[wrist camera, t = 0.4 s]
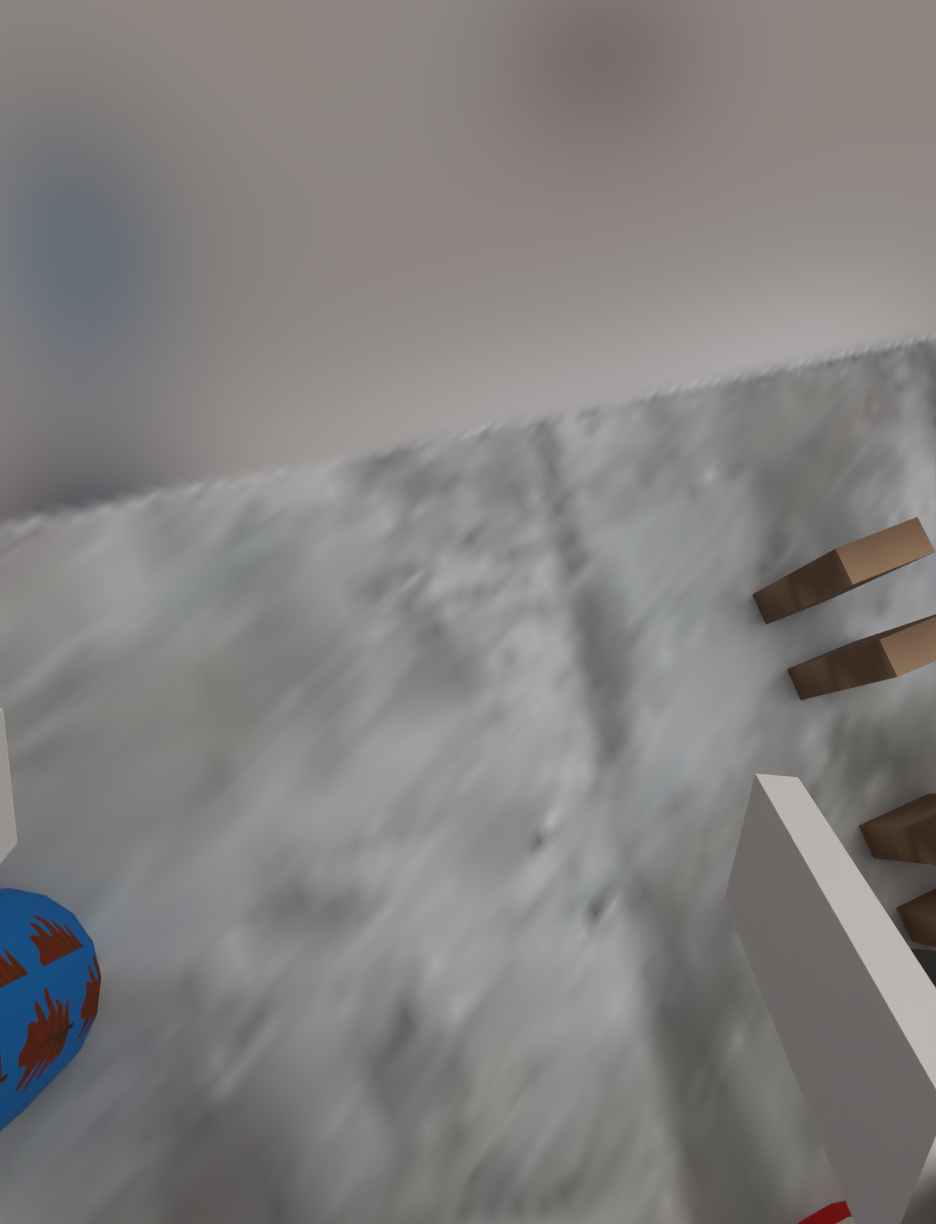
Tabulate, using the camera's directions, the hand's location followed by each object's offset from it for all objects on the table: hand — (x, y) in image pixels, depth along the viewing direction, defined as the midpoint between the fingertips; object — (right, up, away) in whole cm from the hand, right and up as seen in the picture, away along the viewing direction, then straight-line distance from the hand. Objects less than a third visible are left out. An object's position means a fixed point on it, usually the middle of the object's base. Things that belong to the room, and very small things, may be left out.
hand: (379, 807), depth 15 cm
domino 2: (+24, 0, +38) cm, 45 cm away
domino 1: (+22, +4, +39) cm, 45 cm away
